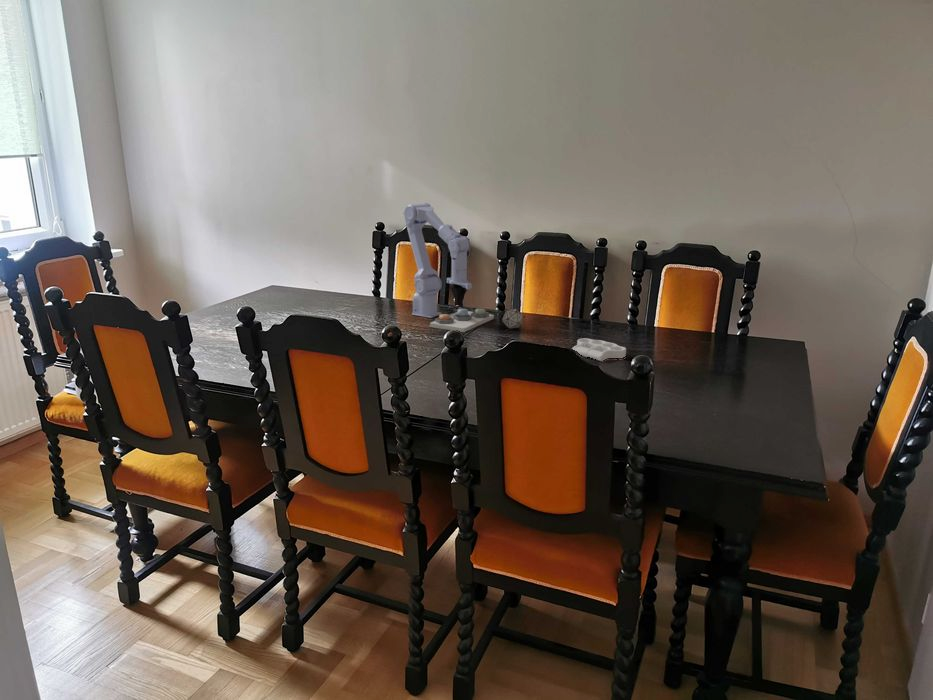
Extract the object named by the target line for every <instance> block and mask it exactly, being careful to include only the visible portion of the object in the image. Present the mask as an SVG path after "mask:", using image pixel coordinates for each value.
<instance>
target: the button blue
mask: <svg viewBox="0 0 933 700" xmlns="http://www.w3.org/2000/svg"><path fill="white" fill-rule="evenodd" d="M468 311H469V309H467V308H457V311H456V312H457V315H458V316H461V317H465V316H468Z"/></svg>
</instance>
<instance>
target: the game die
mask: <svg viewBox="0 0 933 700" xmlns="http://www.w3.org/2000/svg"><path fill="white" fill-rule="evenodd" d="M504 310H505V312H504V314H503V317H502V319H500V320H499V322H502V323H503V324H504V325H505V326H506V327H507V328H508V331H510V330H511V329H517V328H518V329H519V330H521V323H522V322H523V319H524V318H526V317H527V316H526V315H524V316H523V314H521V312H520V311H519V310H518V307H517V306H516V307H515V308H512V309H507V308H504Z"/></svg>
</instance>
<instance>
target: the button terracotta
mask: <svg viewBox="0 0 933 700" xmlns="http://www.w3.org/2000/svg"><path fill="white" fill-rule="evenodd" d="M450 315H451V314H449V313H443V314H442V313H441V314H440V315H438V317H439V320H450Z"/></svg>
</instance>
